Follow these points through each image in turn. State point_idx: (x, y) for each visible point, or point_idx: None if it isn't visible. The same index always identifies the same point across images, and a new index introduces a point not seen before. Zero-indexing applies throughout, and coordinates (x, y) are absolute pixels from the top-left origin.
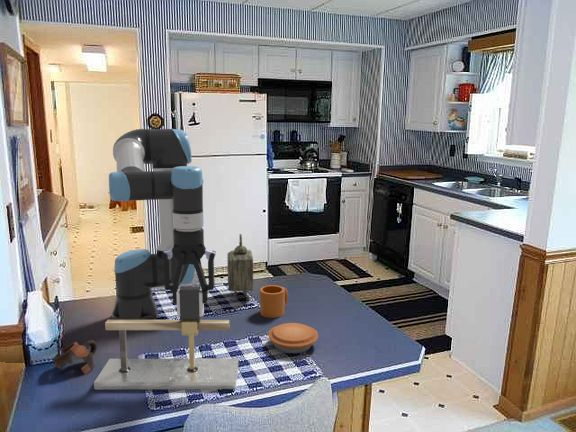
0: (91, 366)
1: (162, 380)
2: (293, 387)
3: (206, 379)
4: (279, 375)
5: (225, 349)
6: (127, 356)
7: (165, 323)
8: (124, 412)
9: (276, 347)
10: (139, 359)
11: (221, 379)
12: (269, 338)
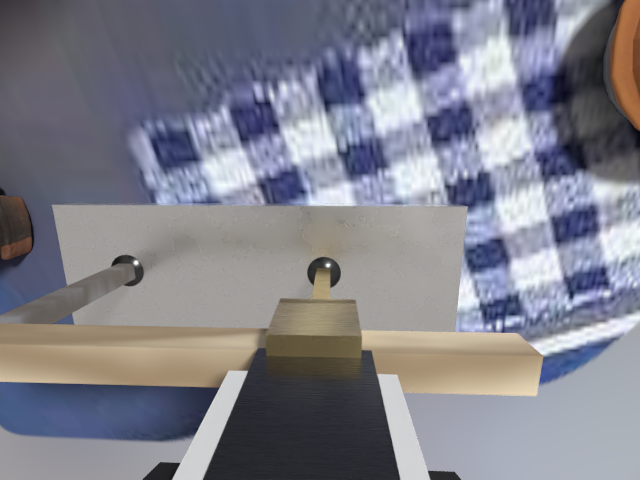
0: (23, 231)
1: (251, 324)
2: (606, 323)
3: (372, 323)
4: (579, 264)
5: (413, 96)
6: (106, 277)
7: (180, 384)
8: (199, 401)
9: (609, 94)
10: (145, 210)
11: (414, 324)
12: (612, 79)
